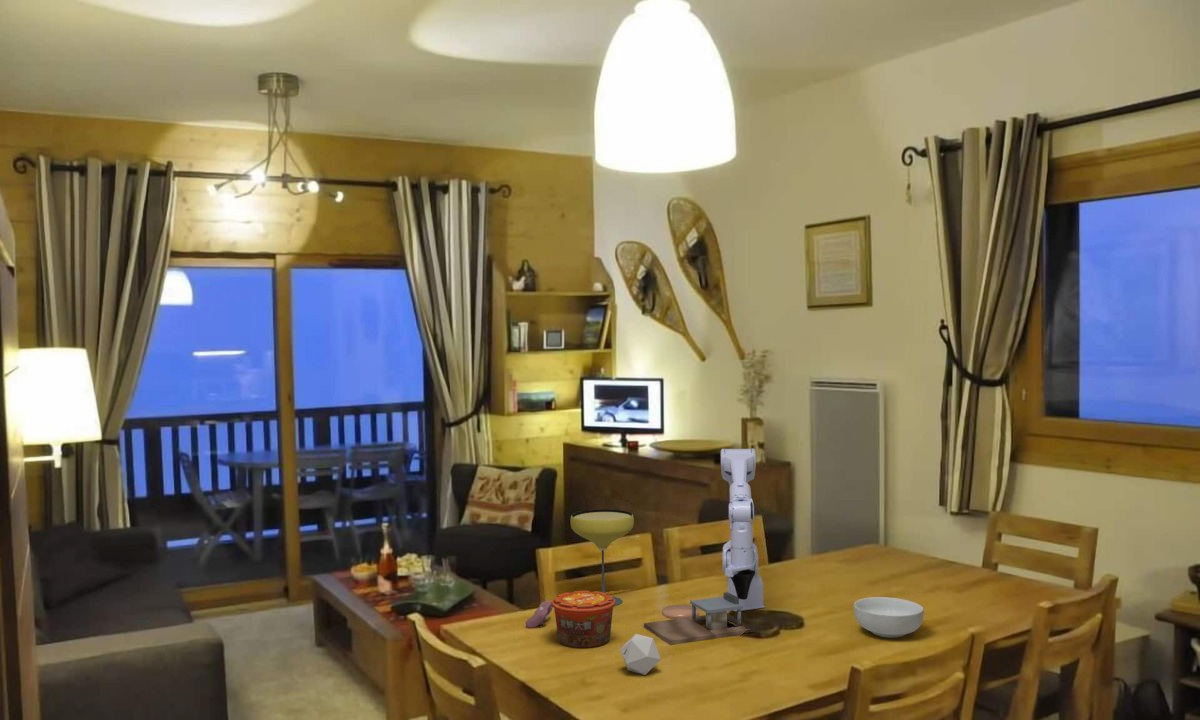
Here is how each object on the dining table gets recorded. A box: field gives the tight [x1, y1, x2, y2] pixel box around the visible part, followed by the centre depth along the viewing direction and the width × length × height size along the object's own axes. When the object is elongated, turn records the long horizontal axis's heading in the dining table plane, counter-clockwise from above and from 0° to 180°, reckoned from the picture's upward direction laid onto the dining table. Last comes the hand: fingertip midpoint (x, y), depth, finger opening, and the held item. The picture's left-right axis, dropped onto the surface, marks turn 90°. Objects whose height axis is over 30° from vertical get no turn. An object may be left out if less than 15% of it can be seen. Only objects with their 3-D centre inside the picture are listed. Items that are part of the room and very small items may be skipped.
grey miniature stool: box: [689, 591, 743, 630], centre depth 253 cm, size 10×10×6 cm
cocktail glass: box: [569, 508, 635, 607], centre depth 279 cm, size 18×18×25 cm
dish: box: [661, 604, 700, 619], centre depth 266 cm, size 10×10×1 cm
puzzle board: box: [643, 612, 750, 646], centre depth 251 cm, size 24×16×1 cm, turn 111°
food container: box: [551, 590, 616, 649], centre depth 244 cm, size 16×16×11 cm
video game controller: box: [525, 600, 554, 629], centre depth 259 cm, size 10×5×7 cm, turn 169°
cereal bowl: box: [853, 596, 925, 639], centre depth 246 cm, size 17×17×7 cm
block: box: [705, 611, 728, 630], centre depth 253 cm, size 4×4×5 cm
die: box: [619, 633, 662, 676], centre depth 221 cm, size 8×9×10 cm
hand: (742, 598), depth 256 cm, fingers closed
